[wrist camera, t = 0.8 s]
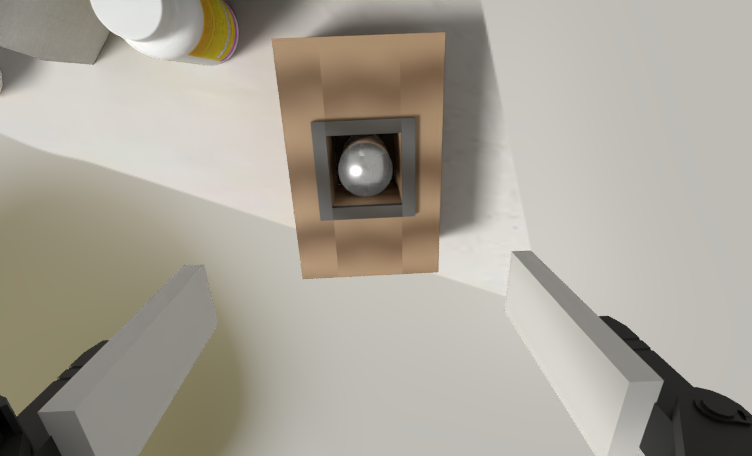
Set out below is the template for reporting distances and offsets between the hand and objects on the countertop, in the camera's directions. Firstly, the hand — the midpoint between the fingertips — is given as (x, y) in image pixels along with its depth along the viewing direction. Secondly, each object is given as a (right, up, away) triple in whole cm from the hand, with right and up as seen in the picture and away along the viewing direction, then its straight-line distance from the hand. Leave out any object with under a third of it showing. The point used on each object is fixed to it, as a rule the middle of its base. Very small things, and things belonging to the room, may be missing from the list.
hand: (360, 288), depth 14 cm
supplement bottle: (-16, +22, +21) cm, 35 cm away
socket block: (-1, +11, +26) cm, 28 cm away
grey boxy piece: (-27, +22, +21) cm, 41 cm away
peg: (-1, +11, +26) cm, 28 cm away
